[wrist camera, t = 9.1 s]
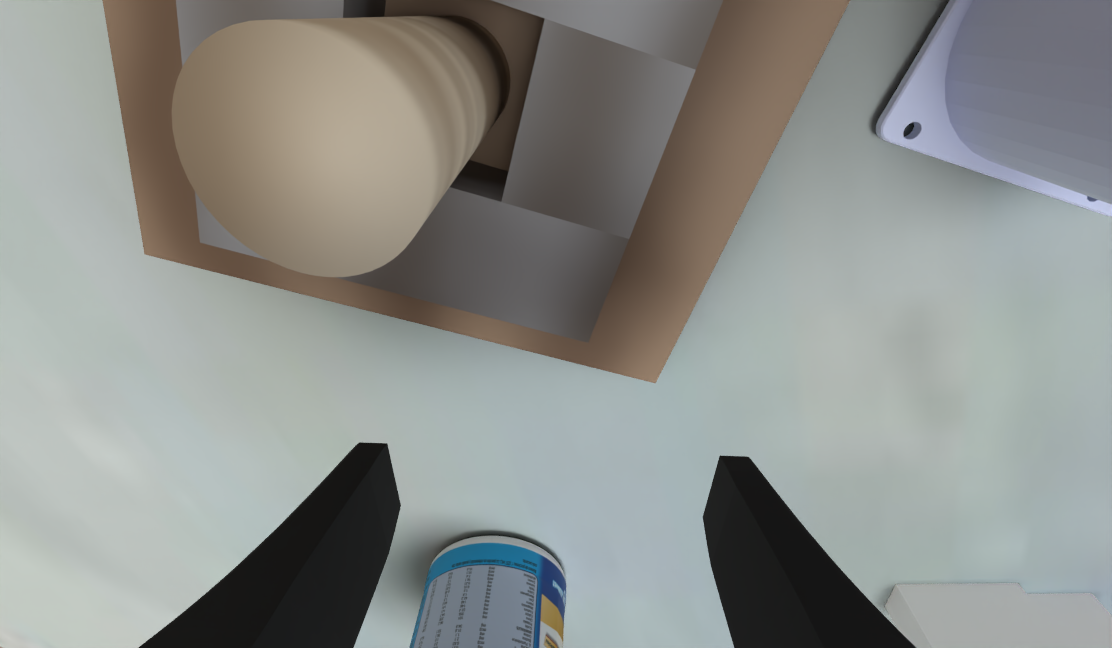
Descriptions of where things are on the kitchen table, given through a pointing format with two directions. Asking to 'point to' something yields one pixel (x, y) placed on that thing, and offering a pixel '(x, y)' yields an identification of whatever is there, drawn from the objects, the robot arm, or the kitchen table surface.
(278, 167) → the peg
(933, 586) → the napkin holder
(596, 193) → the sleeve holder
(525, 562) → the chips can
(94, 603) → the kitchen table surface
